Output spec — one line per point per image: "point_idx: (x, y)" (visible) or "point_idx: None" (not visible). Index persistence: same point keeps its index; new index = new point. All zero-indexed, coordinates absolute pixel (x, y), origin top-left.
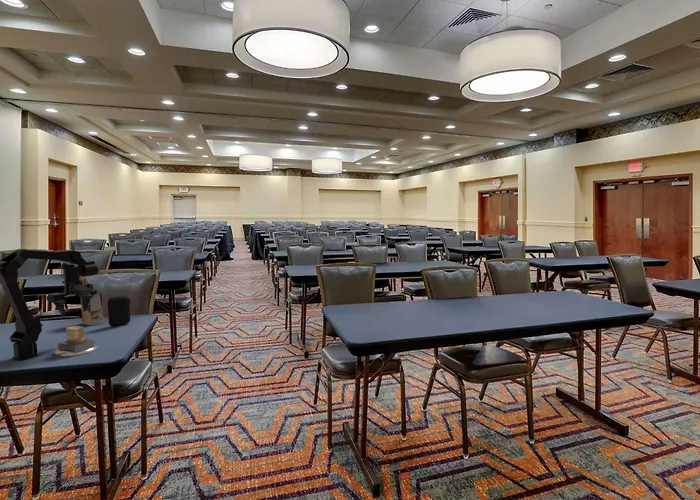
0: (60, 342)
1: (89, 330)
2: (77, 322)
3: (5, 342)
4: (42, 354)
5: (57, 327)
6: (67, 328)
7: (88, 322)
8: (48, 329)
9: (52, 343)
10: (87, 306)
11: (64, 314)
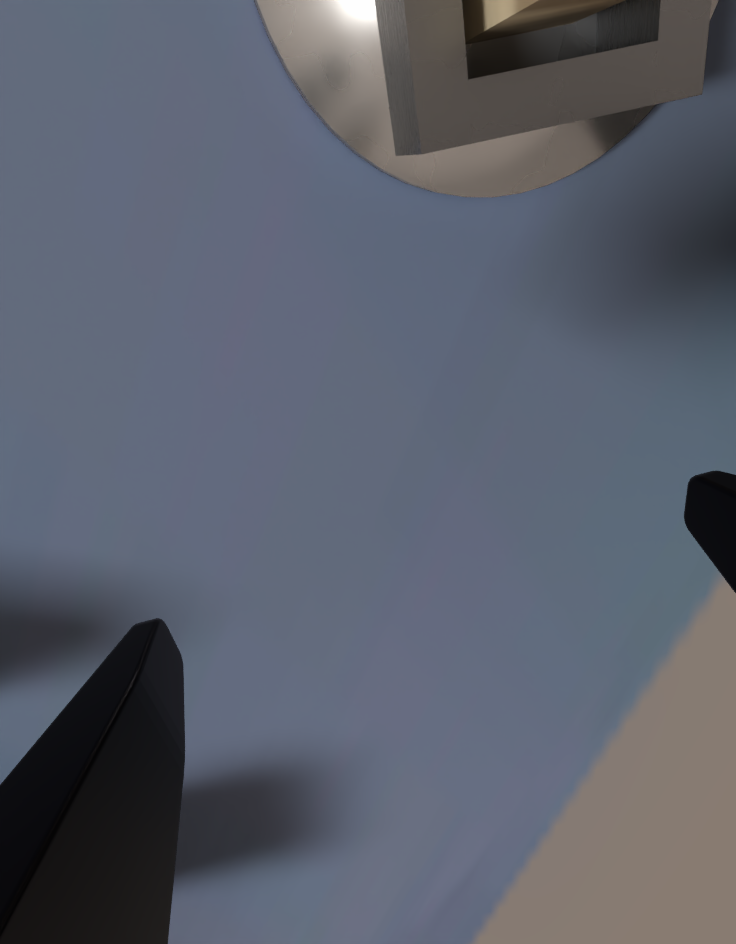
0: (679, 75)
1: None
2: None
3: (605, 748)
4: (731, 175)
5: (251, 890)
6: None
7: None
8: (312, 875)
9: (475, 508)
10: (39, 738)
11: (728, 488)
